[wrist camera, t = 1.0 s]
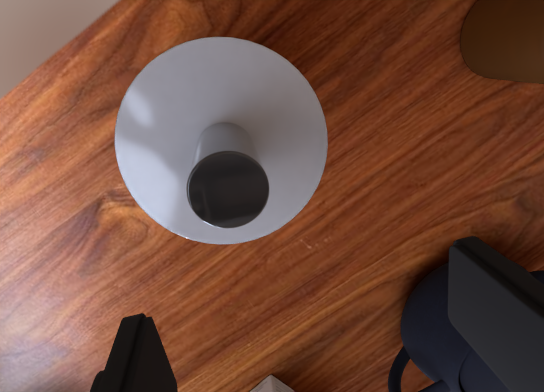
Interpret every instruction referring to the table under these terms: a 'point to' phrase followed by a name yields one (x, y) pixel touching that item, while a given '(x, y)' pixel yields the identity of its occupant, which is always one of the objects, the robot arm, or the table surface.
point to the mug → (505, 40)
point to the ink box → (272, 386)
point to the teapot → (441, 342)
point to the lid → (221, 140)
